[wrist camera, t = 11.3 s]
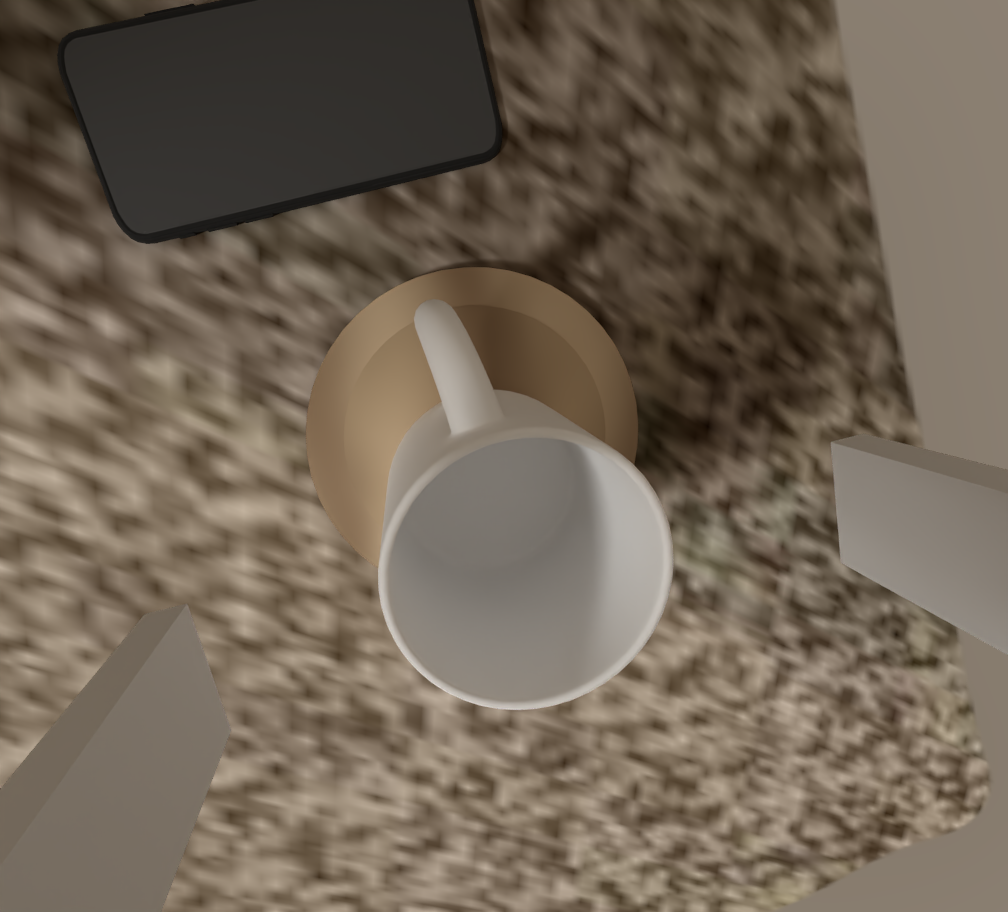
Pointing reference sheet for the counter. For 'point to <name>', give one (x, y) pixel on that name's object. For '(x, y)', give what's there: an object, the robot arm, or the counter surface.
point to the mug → (514, 541)
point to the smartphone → (276, 106)
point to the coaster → (412, 390)
